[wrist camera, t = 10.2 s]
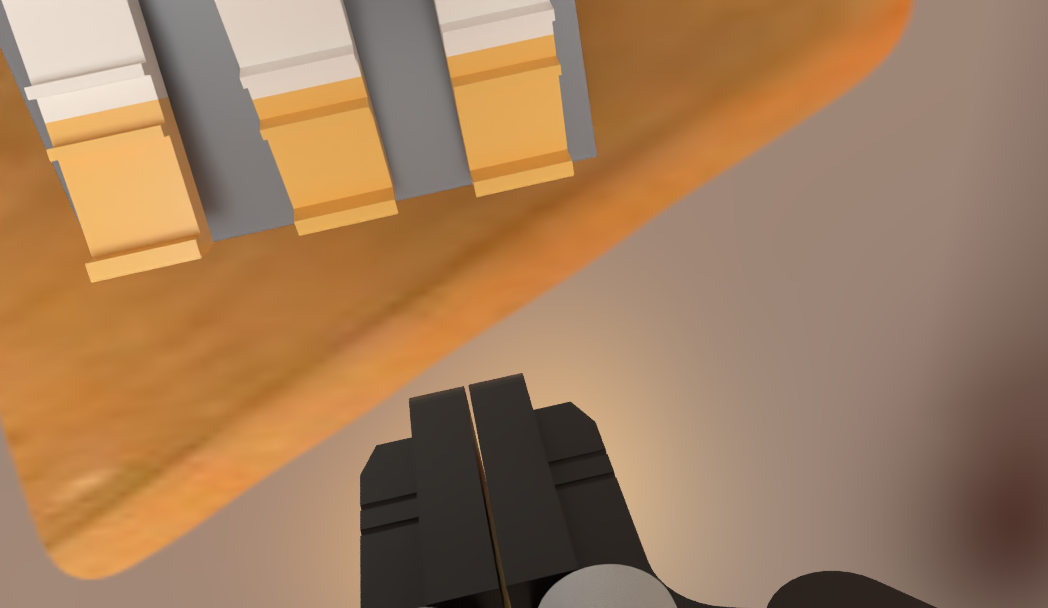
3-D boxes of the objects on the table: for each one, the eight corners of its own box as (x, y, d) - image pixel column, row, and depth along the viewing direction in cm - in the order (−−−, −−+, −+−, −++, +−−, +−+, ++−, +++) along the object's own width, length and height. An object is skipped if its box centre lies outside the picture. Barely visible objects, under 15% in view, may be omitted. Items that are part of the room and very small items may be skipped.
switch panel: (-12, -129, 25) (-83, -117, 21) (515, -234, 26) (543, -241, 22) (130, 212, 30) (94, 274, 26) (569, 116, 31) (600, 162, 27)
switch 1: (3, -44, 23) (-27, -49, 21) (117, -67, 23) (96, -74, 21) (110, 267, 25) (91, 282, 24) (214, 244, 25) (201, 258, 24)
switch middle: (195, -73, 21) (191, -46, 20) (315, -98, 22) (318, -72, 20) (298, 202, 27) (299, 235, 26) (393, 181, 27) (398, 213, 26)
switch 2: (409, -118, 22) (416, -96, 21) (525, -142, 22) (539, -121, 21) (467, 166, 27) (476, 197, 26) (561, 145, 27) (574, 175, 26)
